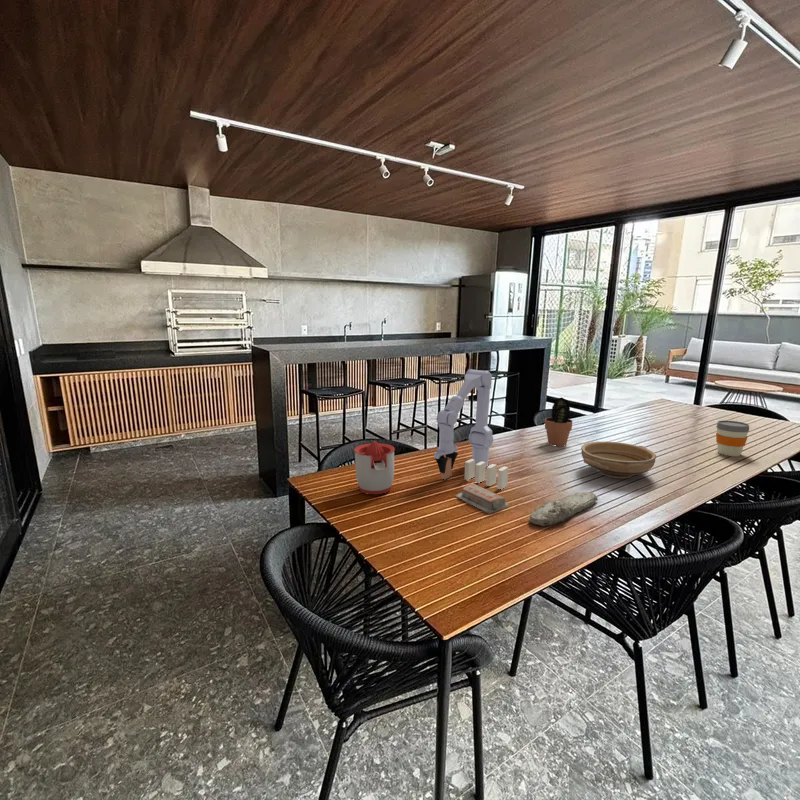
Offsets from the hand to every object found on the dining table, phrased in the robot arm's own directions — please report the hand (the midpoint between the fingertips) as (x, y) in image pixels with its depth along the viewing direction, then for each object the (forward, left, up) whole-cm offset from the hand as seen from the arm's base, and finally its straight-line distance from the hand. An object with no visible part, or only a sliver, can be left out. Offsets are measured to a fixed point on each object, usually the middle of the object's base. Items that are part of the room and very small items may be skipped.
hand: (446, 470), depth 179 cm
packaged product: (+21, +14, -4) cm, 25 cm away
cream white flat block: (-1, +10, -4) cm, 10 cm away
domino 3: (+1, +14, -4) cm, 14 cm away
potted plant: (-59, +54, -4) cm, 80 cm away
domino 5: (+6, +23, -4) cm, 24 cm away
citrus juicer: (+17, -26, -4) cm, 31 cm away
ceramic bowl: (-18, +71, -4) cm, 73 cm away
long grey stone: (+24, +43, -4) cm, 49 cm away
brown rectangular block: (0, 0, -3) cm, 3 cm away
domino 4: (+4, +18, -4) cm, 19 cm away
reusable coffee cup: (-55, +133, -4) cm, 144 cm away
